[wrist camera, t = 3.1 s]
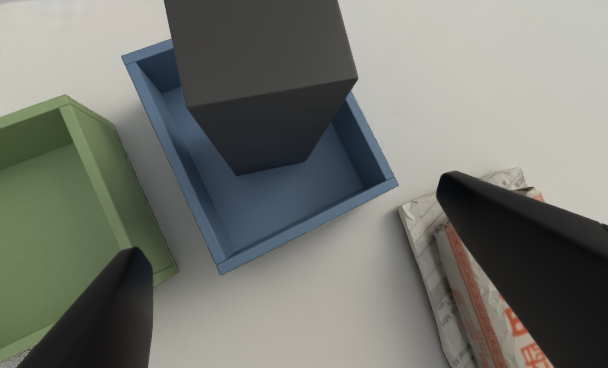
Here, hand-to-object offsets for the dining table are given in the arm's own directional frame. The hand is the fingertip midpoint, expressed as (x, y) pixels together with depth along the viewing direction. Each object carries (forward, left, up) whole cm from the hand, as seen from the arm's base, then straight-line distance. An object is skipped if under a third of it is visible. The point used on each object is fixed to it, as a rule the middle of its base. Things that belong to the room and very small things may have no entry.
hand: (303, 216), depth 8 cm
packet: (+4, +3, -11) cm, 13 cm away
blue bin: (+4, +3, -12) cm, 13 cm away
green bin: (-7, +13, -12) cm, 19 cm away
